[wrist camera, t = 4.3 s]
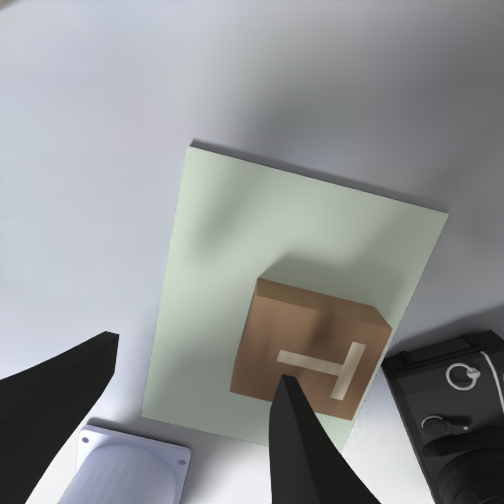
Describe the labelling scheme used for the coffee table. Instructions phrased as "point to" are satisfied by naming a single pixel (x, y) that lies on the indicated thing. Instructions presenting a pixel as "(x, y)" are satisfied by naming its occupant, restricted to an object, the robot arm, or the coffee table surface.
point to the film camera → (455, 415)
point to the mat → (270, 268)
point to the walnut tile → (309, 347)
